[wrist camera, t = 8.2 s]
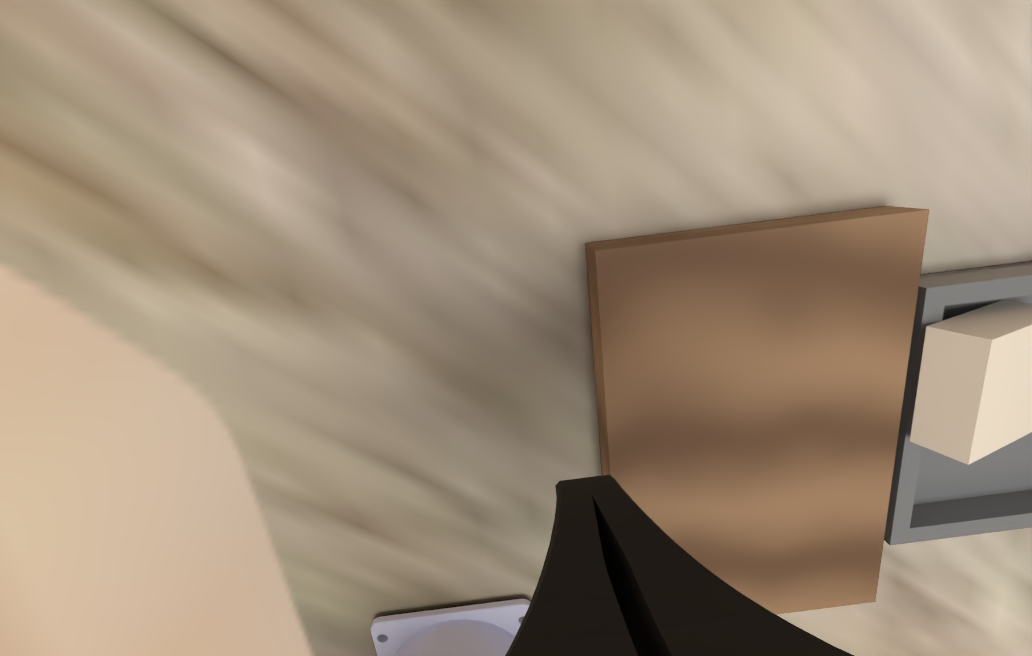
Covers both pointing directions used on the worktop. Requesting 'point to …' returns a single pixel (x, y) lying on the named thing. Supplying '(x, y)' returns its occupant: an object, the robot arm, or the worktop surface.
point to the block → (975, 382)
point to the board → (761, 392)
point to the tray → (938, 478)
